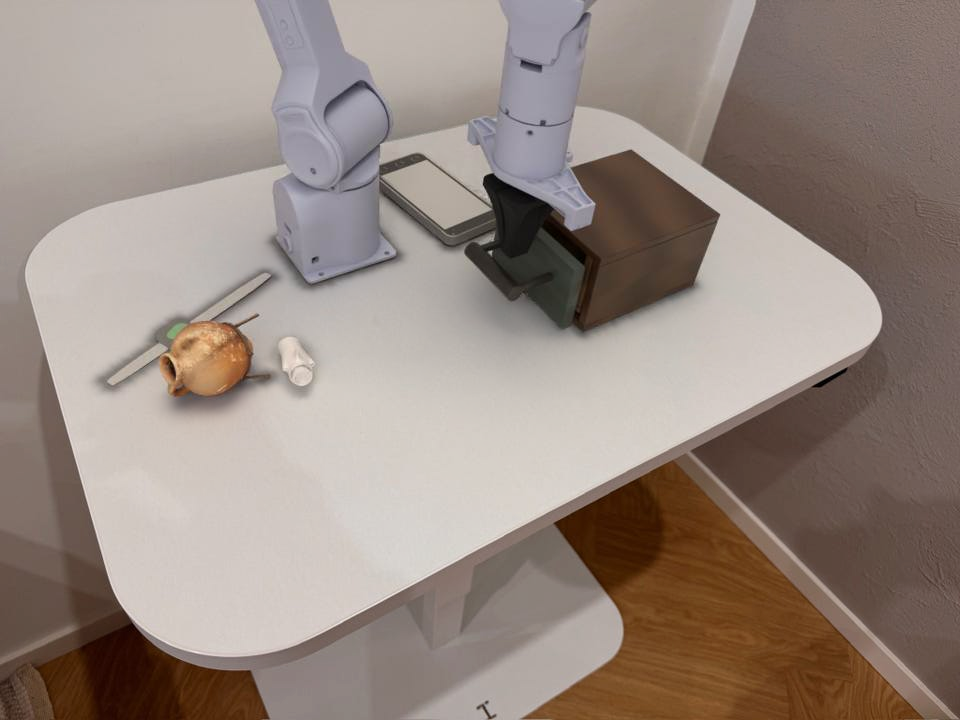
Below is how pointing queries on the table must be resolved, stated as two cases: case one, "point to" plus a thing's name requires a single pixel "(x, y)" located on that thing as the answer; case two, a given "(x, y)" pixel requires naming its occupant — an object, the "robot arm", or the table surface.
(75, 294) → the table surface
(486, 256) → the rack drawer
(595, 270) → the cabinet
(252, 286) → the strap with green oval
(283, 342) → the small white plastic part
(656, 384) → the table surface
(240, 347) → the pot
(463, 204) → the smartphone
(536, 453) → the table surface
